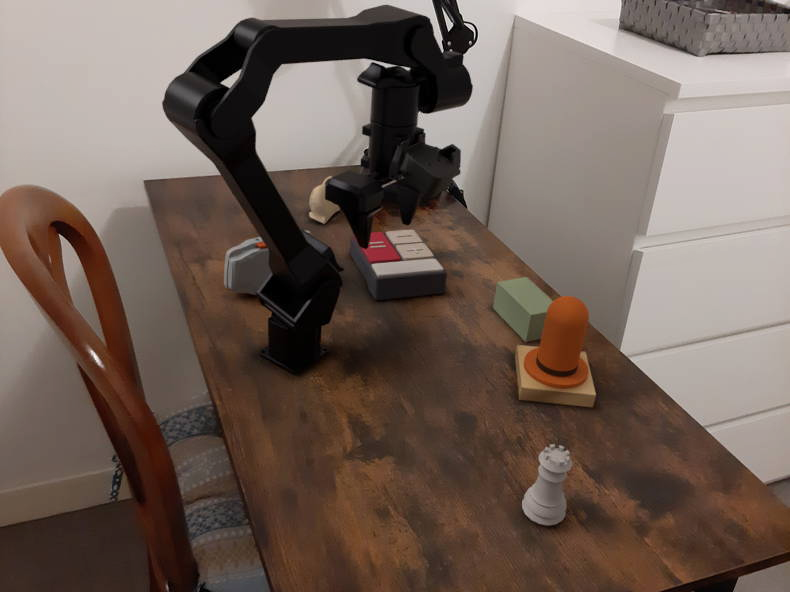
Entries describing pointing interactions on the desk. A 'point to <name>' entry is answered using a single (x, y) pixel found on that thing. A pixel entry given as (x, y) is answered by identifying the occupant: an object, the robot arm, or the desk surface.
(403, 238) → the calculator
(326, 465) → the desk surface
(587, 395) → the stand
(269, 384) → the desk surface
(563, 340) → the hat
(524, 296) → the sage box
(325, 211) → the decorative ornament
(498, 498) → the desk surface
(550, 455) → the rook chess piece
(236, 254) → the handheld gaming console
